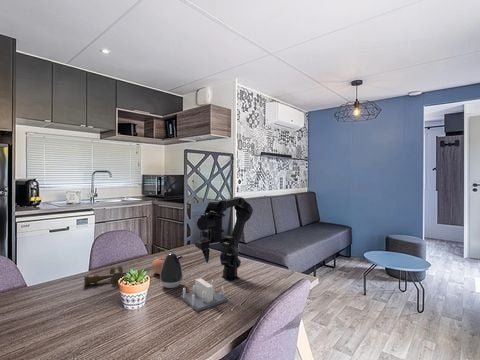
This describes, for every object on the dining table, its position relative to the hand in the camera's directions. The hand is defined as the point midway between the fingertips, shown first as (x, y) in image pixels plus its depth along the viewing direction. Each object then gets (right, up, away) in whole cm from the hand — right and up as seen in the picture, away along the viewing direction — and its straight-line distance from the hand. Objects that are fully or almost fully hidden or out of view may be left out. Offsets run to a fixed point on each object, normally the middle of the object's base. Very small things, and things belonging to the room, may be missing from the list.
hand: (215, 260), depth 123 cm
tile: (-4, -11, -13) cm, 17 cm away
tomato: (-29, -11, +15) cm, 35 cm away
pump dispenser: (-20, -12, 0) cm, 23 cm away
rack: (-4, -12, -13) cm, 18 cm away
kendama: (-51, -11, +3) cm, 52 cm away
